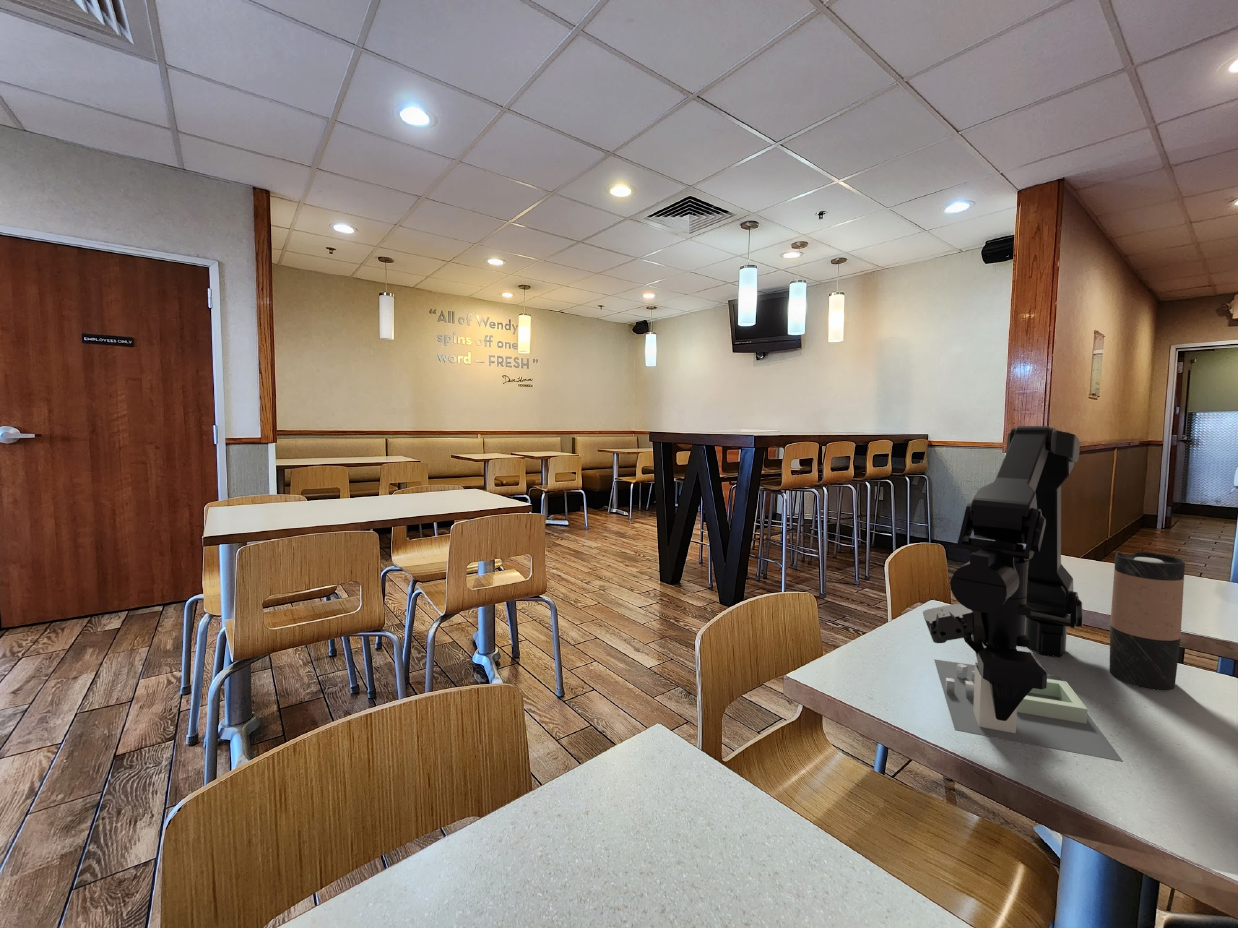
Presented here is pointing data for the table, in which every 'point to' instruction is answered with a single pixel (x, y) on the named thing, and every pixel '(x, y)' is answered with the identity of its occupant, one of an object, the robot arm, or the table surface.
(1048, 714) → the end holder
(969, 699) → the mat
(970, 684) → the set of small cubes
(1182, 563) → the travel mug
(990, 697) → the beige rectangular block
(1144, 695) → the table surface
